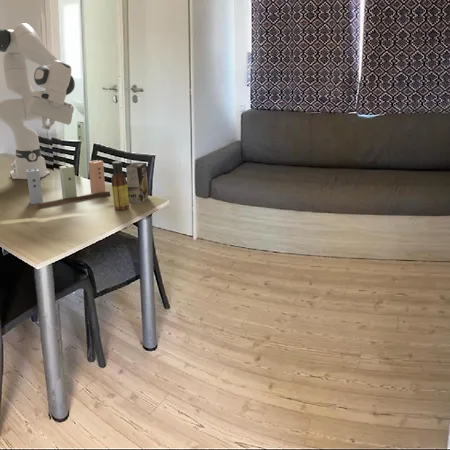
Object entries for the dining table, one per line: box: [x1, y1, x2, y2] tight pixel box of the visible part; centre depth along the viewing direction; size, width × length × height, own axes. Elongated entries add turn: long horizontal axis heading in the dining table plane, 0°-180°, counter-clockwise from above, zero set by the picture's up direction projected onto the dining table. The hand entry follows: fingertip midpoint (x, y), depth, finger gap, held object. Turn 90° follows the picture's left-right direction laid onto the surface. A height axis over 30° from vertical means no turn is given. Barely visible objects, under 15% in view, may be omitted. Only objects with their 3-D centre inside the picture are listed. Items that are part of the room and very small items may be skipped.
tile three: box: [87, 159, 106, 194], centre depth 247 cm, size 4×5×14 cm
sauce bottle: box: [110, 160, 130, 211], centre depth 227 cm, size 6×6×20 cm
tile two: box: [26, 169, 44, 205], centre depth 232 cm, size 4×5×14 cm
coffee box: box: [125, 162, 149, 205], centre depth 238 cm, size 9×6×16 cm
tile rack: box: [36, 190, 111, 209], centre depth 241 cm, size 14×35×3 cm, turn 126°
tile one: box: [59, 164, 78, 199], centre depth 238 cm, size 4×5×14 cm
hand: (45, 129), depth 242 cm, fingers closed
